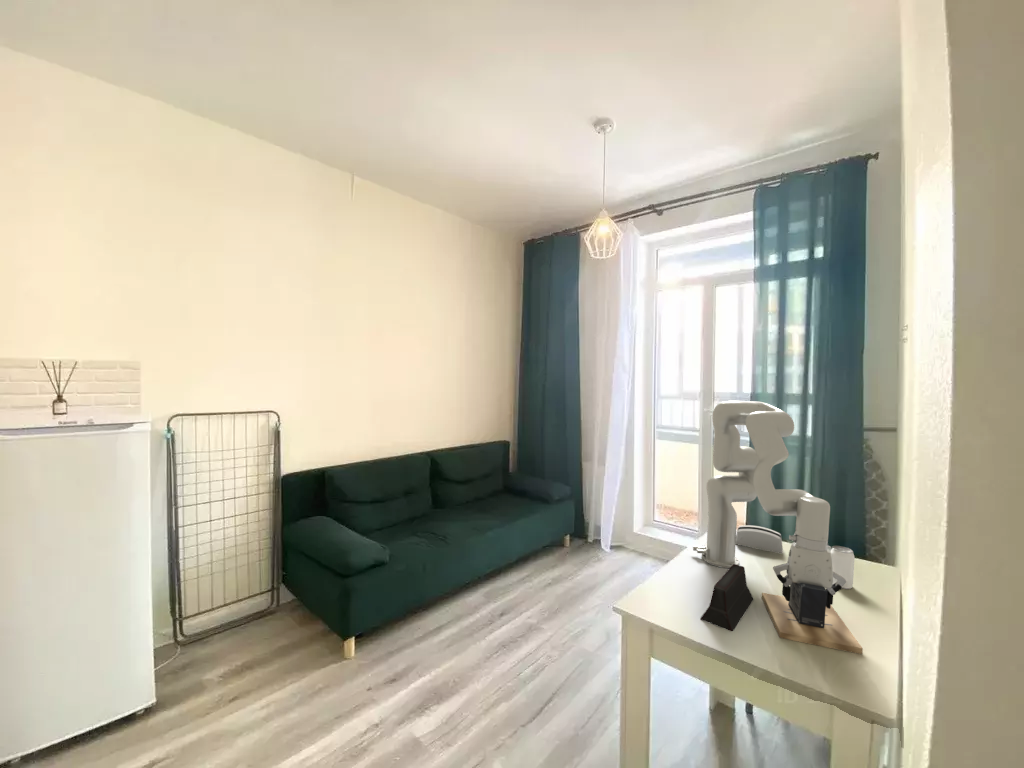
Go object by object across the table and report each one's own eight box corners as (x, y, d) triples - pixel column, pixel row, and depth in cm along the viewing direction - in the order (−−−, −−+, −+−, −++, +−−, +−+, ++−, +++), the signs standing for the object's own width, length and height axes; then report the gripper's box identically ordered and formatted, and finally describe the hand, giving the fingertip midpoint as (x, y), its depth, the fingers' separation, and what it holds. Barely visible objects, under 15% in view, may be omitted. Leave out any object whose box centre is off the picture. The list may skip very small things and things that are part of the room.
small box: (826, 629, 117) (828, 590, 116) (798, 624, 119) (800, 586, 118) (813, 609, 127) (815, 573, 126) (787, 604, 129) (789, 569, 128)
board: (779, 637, 115) (780, 631, 115) (761, 597, 136) (762, 592, 136) (862, 654, 109) (862, 648, 109) (830, 609, 130) (830, 604, 130)
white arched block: (782, 549, 174) (784, 528, 171) (782, 557, 170) (784, 536, 167) (735, 540, 183) (736, 520, 179) (734, 547, 179) (735, 527, 176)
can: (845, 591, 142) (847, 554, 141) (824, 581, 148) (826, 546, 147) (857, 587, 144) (859, 551, 144) (835, 578, 150) (837, 544, 150)
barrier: (733, 633, 117) (735, 596, 116) (699, 619, 122) (701, 584, 122) (754, 599, 134) (756, 567, 134) (724, 589, 140) (725, 559, 140)
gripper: (778, 542, 121) (774, 602, 122) (853, 553, 115) (848, 616, 116) (772, 532, 128) (768, 589, 129) (842, 542, 123) (838, 602, 123)
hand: (806, 602), depth 123 cm, fingers open, 9 cm apart
